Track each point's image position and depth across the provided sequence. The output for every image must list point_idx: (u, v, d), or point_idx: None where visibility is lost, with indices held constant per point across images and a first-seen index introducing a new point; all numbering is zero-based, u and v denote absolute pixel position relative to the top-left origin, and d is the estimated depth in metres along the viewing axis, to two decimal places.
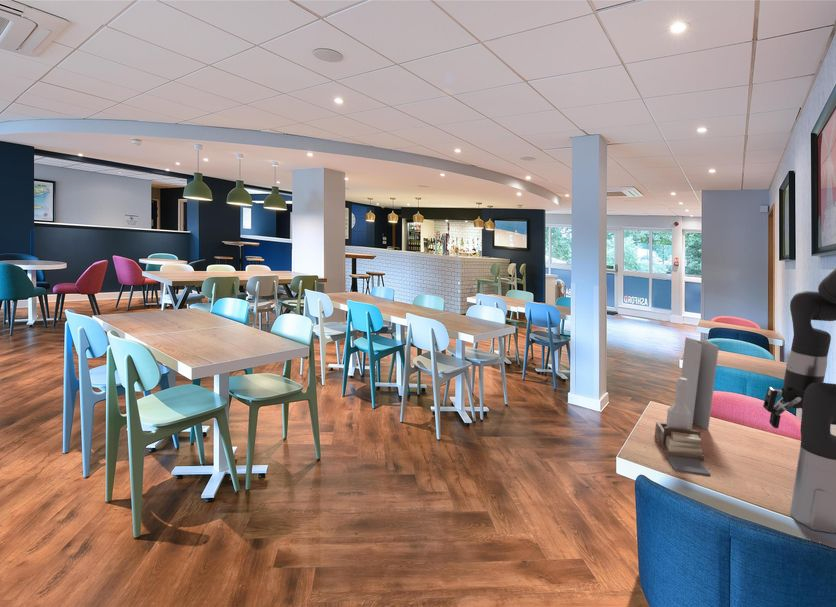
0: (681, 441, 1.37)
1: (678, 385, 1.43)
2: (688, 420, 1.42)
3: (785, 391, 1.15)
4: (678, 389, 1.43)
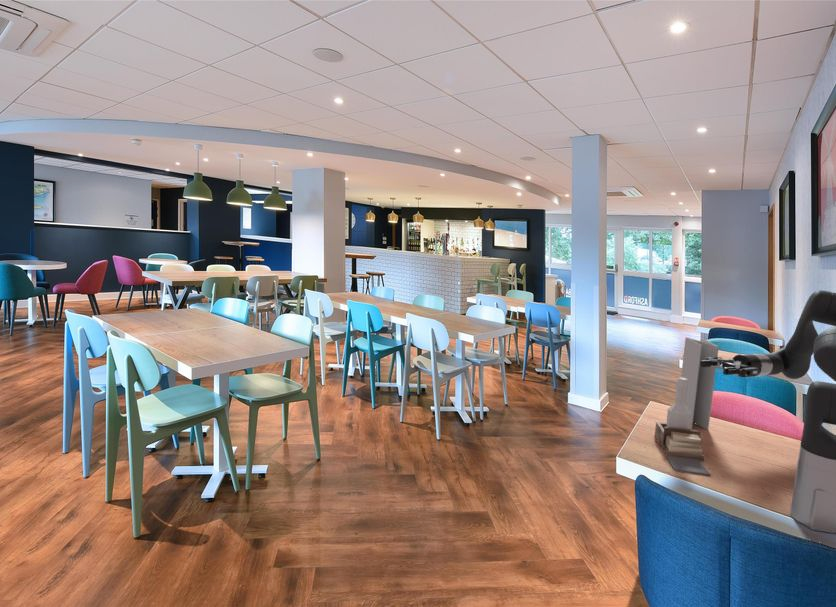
0: (681, 441, 1.37)
1: (678, 385, 1.43)
2: (688, 420, 1.42)
3: None
4: (678, 389, 1.43)
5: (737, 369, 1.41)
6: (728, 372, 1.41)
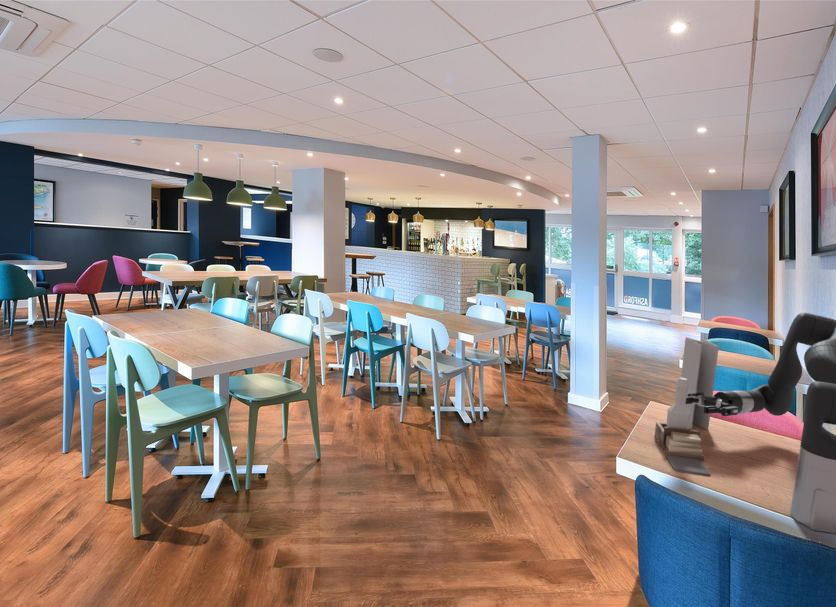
0: (681, 441, 1.37)
1: (678, 385, 1.43)
2: (688, 420, 1.42)
3: None
4: (678, 389, 1.43)
5: (717, 408, 1.41)
6: (708, 411, 1.41)
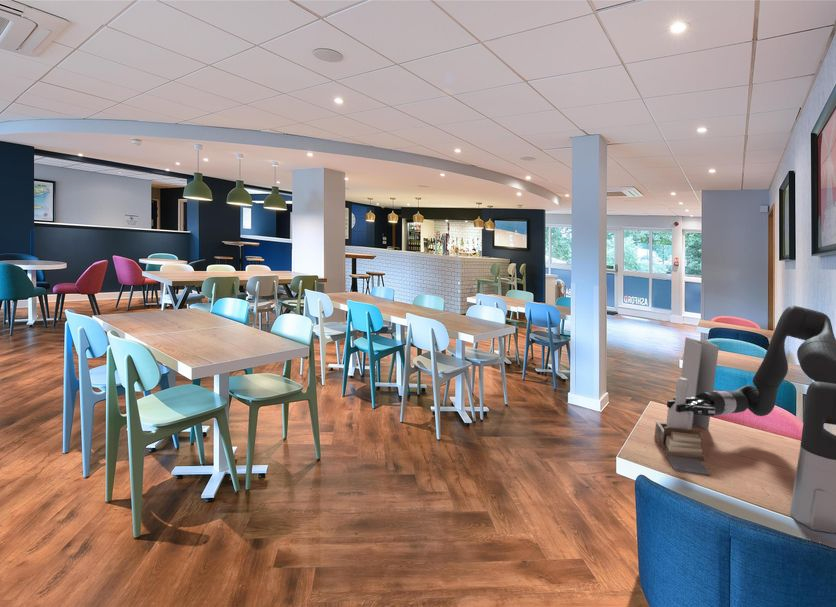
0: (681, 441, 1.37)
1: (678, 385, 1.43)
2: (688, 420, 1.42)
3: None
4: (678, 389, 1.43)
5: (690, 406, 1.42)
6: (680, 409, 1.41)
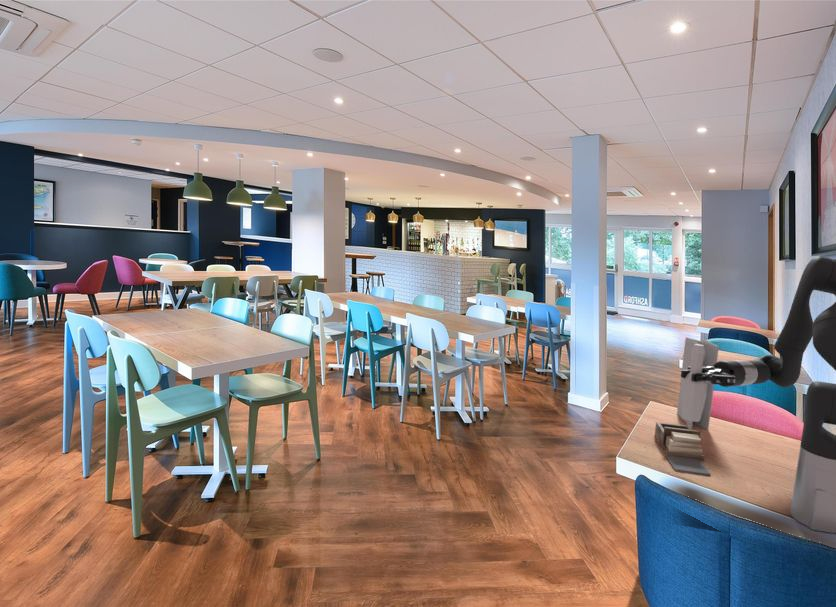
0: (681, 441, 1.37)
1: (694, 352, 1.29)
2: (705, 391, 1.28)
3: None
4: (694, 356, 1.29)
5: (707, 375, 1.28)
6: (697, 379, 1.27)
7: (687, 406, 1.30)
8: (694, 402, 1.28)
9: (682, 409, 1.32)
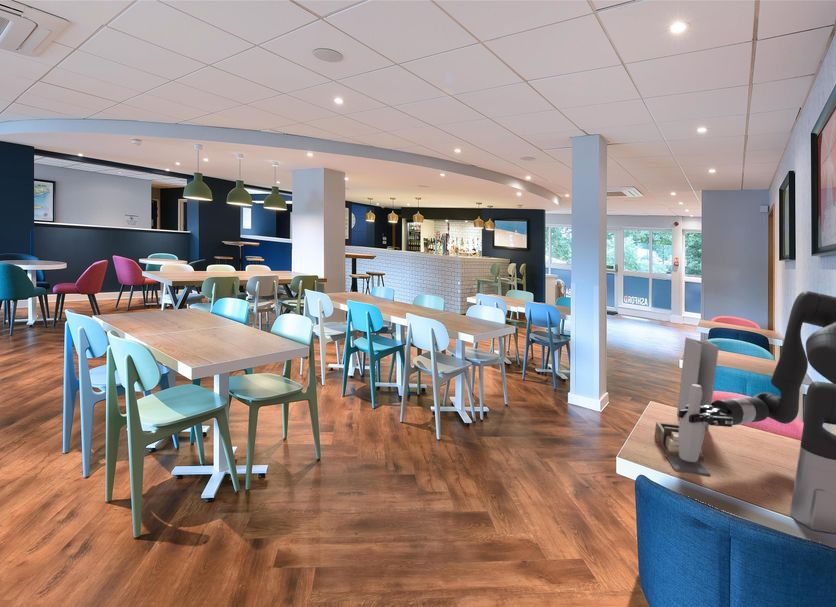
0: None
1: (691, 393, 1.28)
2: (702, 431, 1.28)
3: None
4: (691, 397, 1.29)
5: (704, 416, 1.27)
6: (694, 420, 1.27)
7: (685, 446, 1.30)
8: (692, 443, 1.28)
9: (680, 449, 1.32)
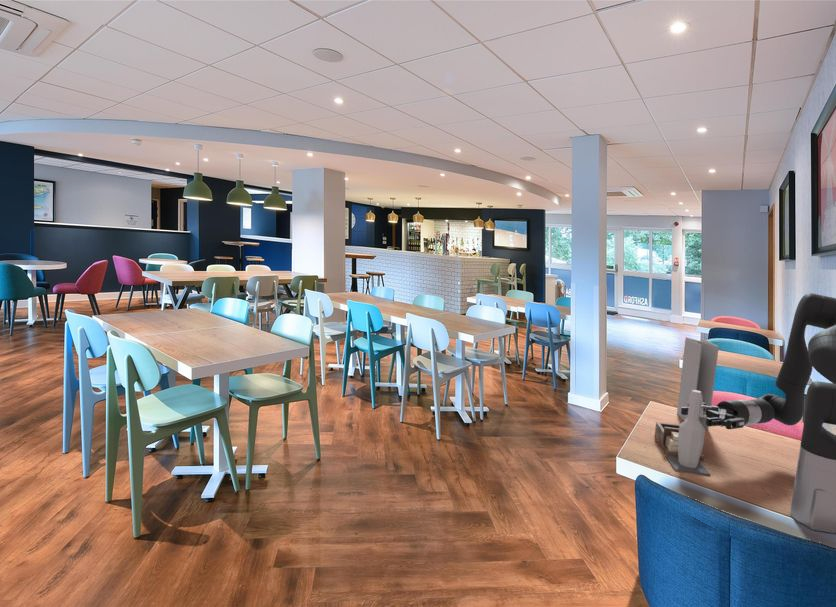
0: None
1: (691, 398, 1.29)
2: (702, 437, 1.28)
3: None
4: (691, 403, 1.29)
5: (721, 420, 1.26)
6: (711, 423, 1.25)
7: (685, 452, 1.30)
8: (691, 449, 1.28)
9: (679, 454, 1.32)
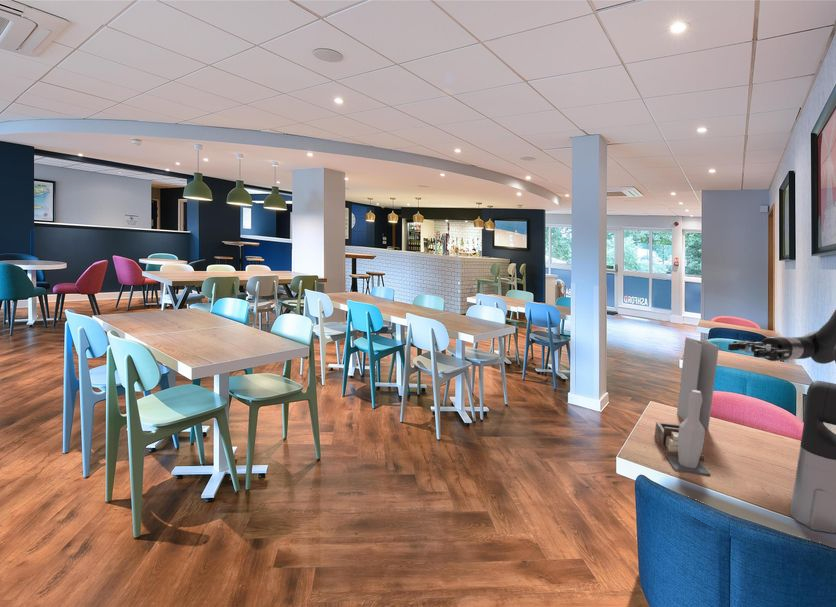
0: None
1: (691, 398, 1.29)
2: (702, 437, 1.28)
3: None
4: (691, 403, 1.29)
5: (768, 351, 1.37)
6: (759, 354, 1.36)
7: (685, 452, 1.30)
8: (691, 449, 1.28)
9: (679, 454, 1.32)
